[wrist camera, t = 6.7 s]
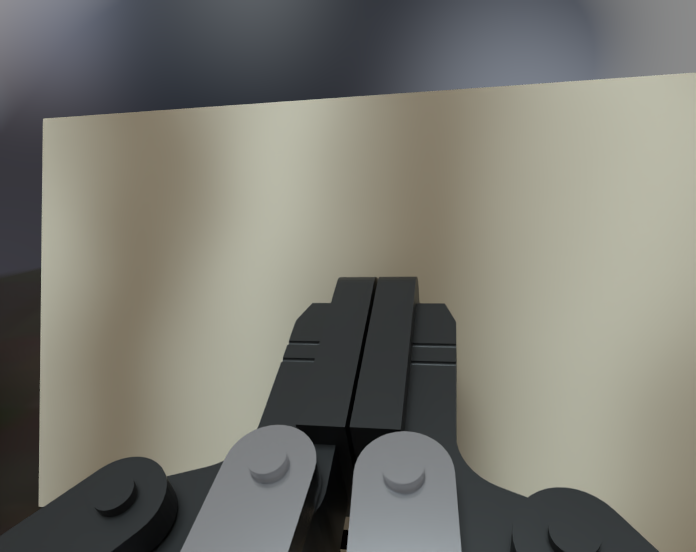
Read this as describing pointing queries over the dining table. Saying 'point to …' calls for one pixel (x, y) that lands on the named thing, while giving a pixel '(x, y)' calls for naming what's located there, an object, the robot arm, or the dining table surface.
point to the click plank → (385, 261)
